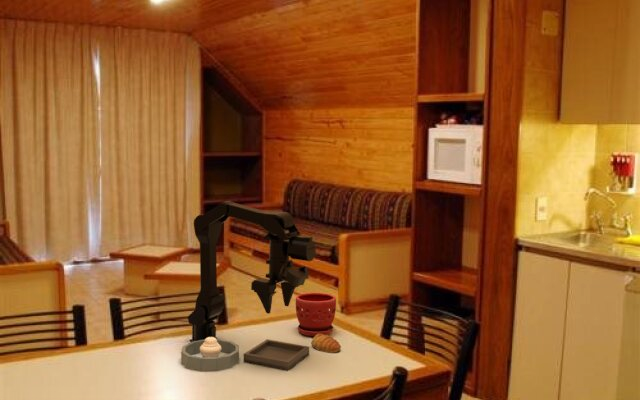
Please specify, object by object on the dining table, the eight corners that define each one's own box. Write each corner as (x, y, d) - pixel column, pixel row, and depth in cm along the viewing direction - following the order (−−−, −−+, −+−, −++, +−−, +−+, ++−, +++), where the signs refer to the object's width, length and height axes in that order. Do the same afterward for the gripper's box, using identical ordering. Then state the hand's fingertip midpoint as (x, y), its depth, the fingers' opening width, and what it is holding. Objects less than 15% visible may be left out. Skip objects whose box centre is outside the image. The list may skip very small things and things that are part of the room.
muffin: (216, 365, 184) (217, 341, 183) (196, 363, 185) (196, 339, 184) (224, 357, 190) (224, 334, 189) (204, 355, 191) (204, 332, 190)
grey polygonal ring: (170, 364, 183) (170, 352, 183) (202, 347, 198) (202, 336, 197) (219, 375, 177) (219, 362, 177) (249, 356, 192) (249, 344, 191)
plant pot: (343, 332, 215) (344, 296, 214) (315, 341, 206) (316, 304, 204) (314, 323, 224) (315, 289, 223) (286, 331, 214) (287, 295, 213)
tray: (243, 362, 187) (243, 353, 186) (266, 347, 199) (267, 339, 199) (287, 371, 181) (288, 362, 181) (309, 354, 194) (309, 346, 193)
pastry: (346, 350, 199) (346, 338, 198) (330, 356, 194) (330, 343, 194) (324, 342, 205) (324, 331, 205) (308, 347, 201) (308, 335, 200)
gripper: (283, 266, 176) (282, 323, 178) (320, 255, 192) (318, 307, 194) (250, 260, 182) (249, 315, 184) (288, 250, 198) (287, 300, 200)
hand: (277, 309), depth 190 cm, fingers open, 9 cm apart
